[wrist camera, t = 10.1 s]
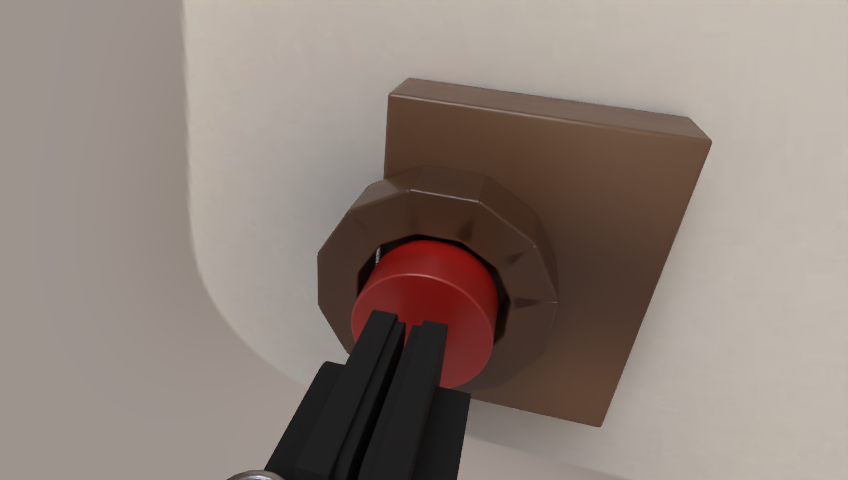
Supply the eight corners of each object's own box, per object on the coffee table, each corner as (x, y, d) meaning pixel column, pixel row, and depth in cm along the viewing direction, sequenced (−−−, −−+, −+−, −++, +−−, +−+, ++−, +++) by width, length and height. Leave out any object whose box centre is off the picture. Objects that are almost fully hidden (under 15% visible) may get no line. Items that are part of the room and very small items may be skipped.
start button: (487, 358, 14) (481, 404, 13) (368, 333, 15) (348, 374, 13) (509, 252, 13) (505, 290, 11) (373, 227, 13) (351, 260, 12)
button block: (595, 382, 19) (607, 476, 15) (357, 331, 20) (318, 407, 16) (691, 116, 14) (740, 166, 10) (366, 71, 15) (313, 101, 11)
